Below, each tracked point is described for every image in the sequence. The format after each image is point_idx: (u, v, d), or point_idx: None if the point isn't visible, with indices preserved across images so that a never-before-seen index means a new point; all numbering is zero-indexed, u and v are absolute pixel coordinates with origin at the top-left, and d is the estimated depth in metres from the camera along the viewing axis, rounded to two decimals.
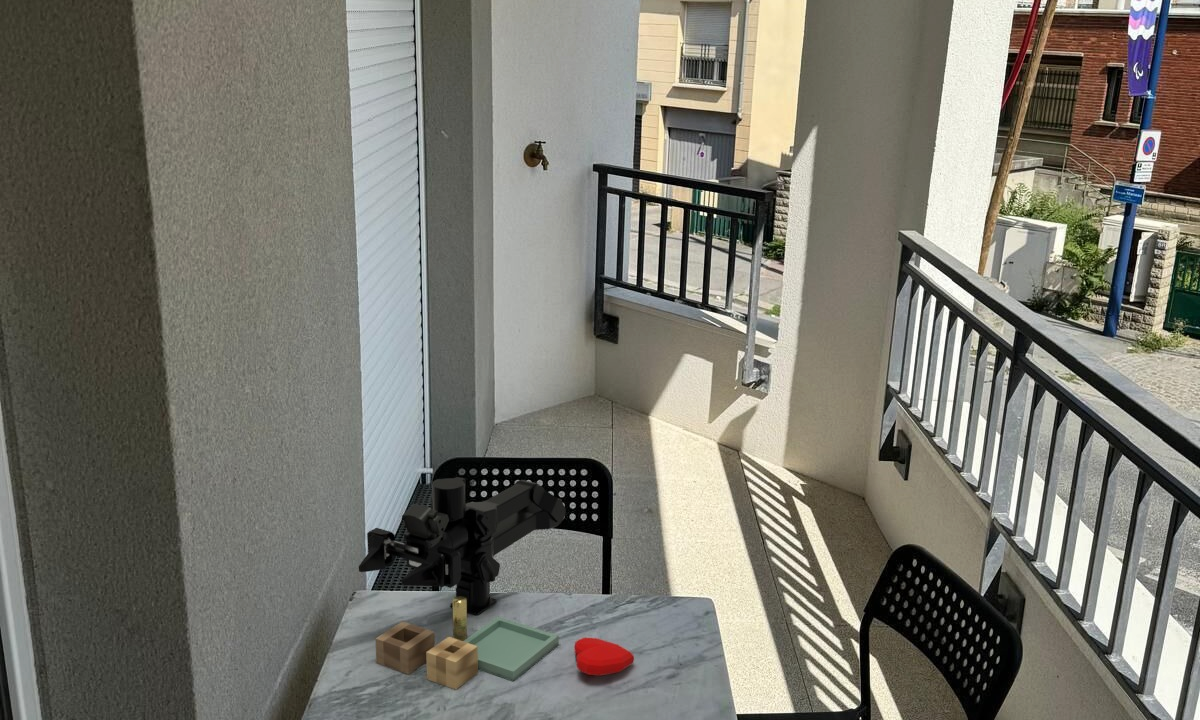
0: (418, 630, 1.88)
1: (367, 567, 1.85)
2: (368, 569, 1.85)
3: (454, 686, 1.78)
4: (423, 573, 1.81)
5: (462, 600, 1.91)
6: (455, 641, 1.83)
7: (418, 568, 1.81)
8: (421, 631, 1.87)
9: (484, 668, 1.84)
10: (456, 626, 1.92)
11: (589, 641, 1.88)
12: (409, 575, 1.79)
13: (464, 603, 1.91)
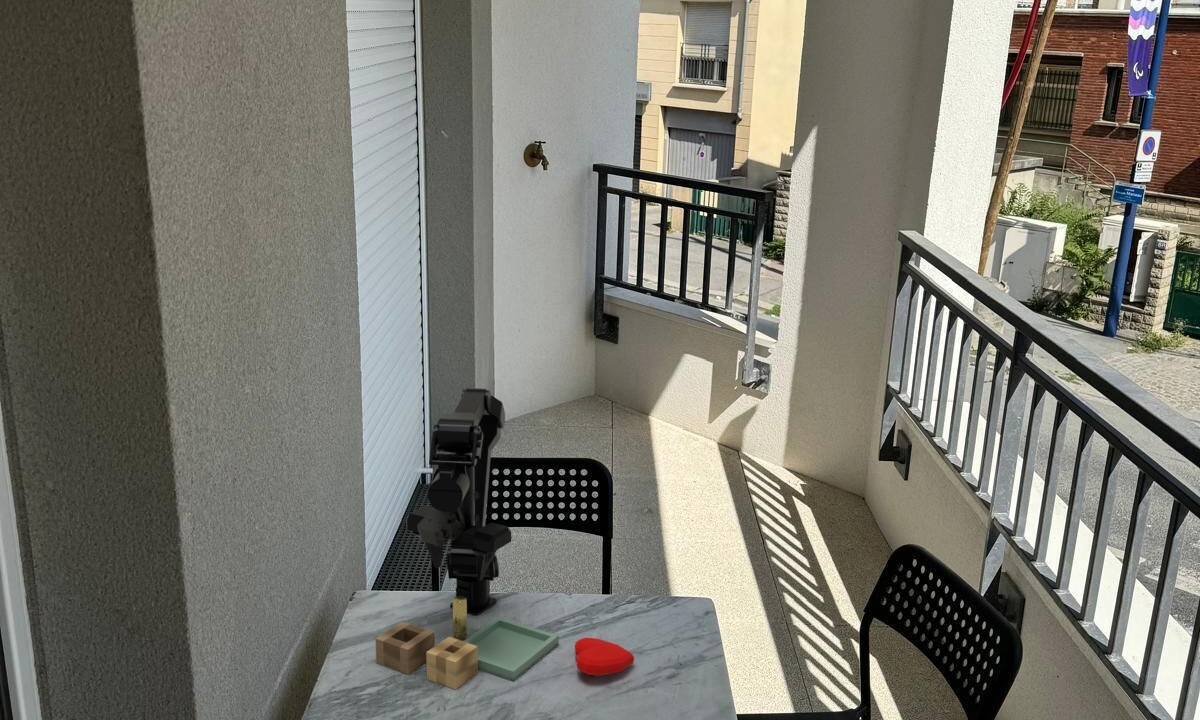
0: (418, 630, 1.88)
1: (439, 557, 1.92)
2: (441, 555, 1.93)
3: (454, 686, 1.78)
4: (484, 560, 1.86)
5: (462, 600, 1.91)
6: (455, 641, 1.83)
7: (478, 564, 1.86)
8: (421, 631, 1.87)
9: (484, 668, 1.84)
10: (456, 626, 1.92)
11: (589, 641, 1.88)
12: (479, 575, 1.87)
13: (464, 603, 1.91)
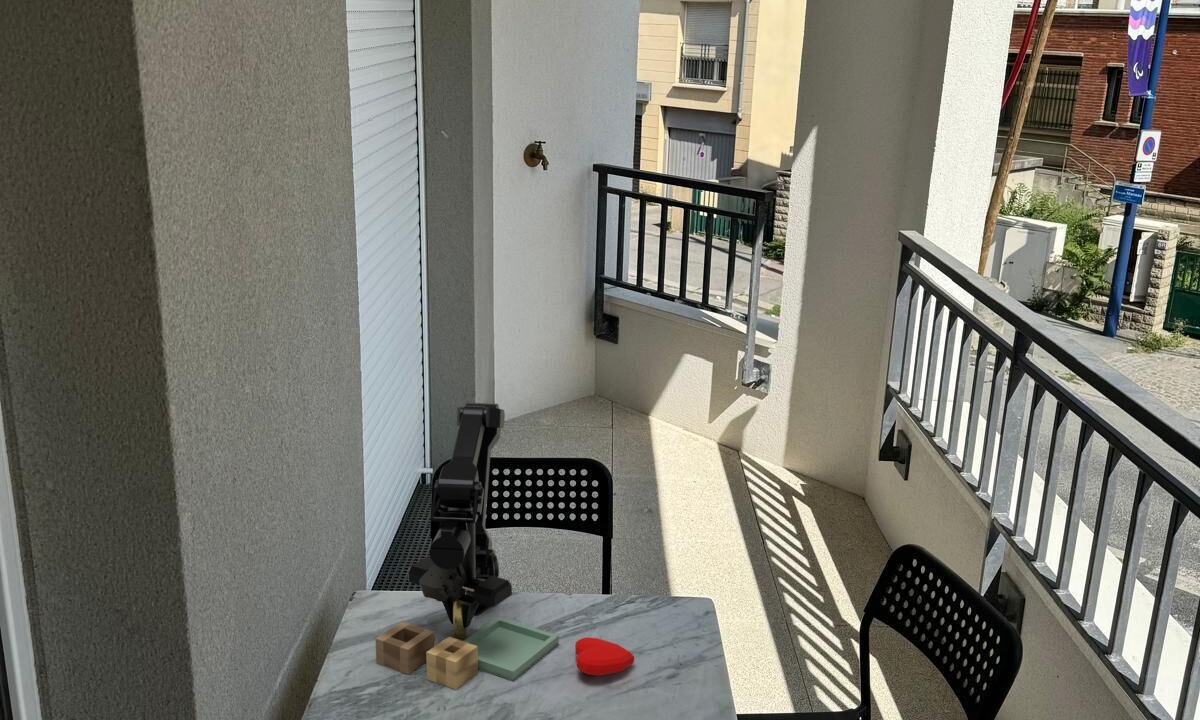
0: (418, 630, 1.88)
1: None
2: None
3: (454, 686, 1.78)
4: (470, 608, 1.90)
5: None
6: (455, 641, 1.83)
7: (464, 612, 1.90)
8: (421, 631, 1.87)
9: (484, 668, 1.84)
10: (456, 626, 1.92)
11: (590, 641, 1.88)
12: (465, 622, 1.91)
13: None
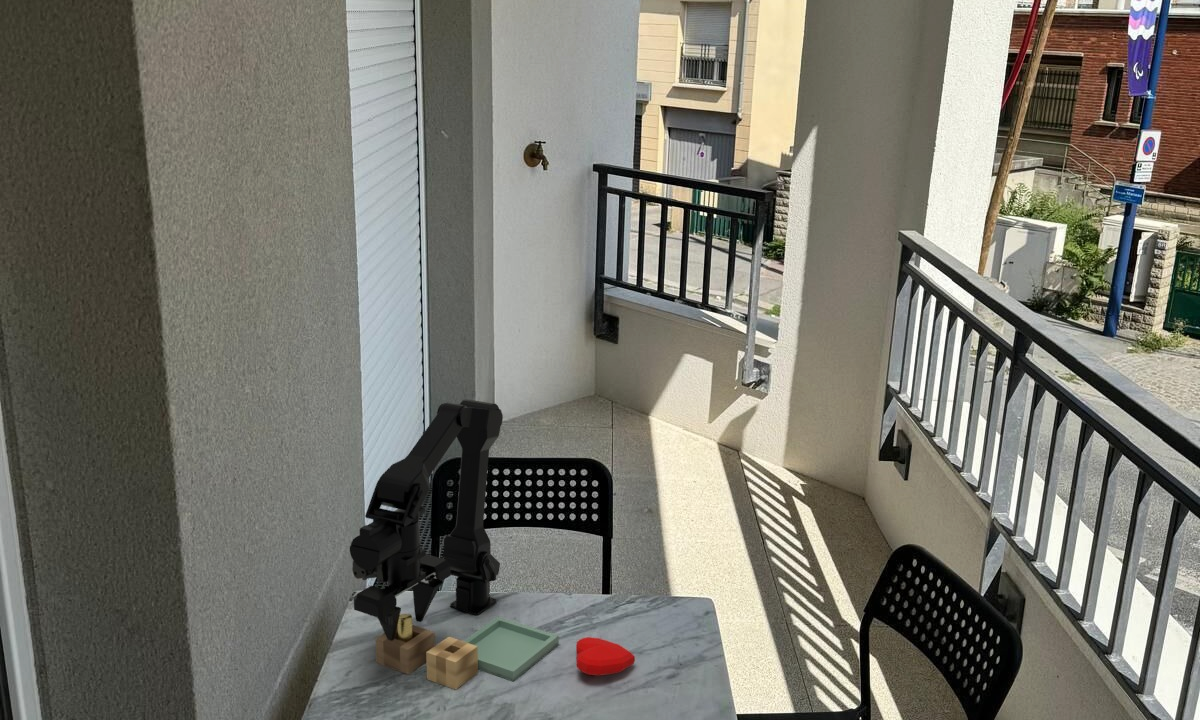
0: (418, 630, 1.88)
1: (420, 612, 1.88)
2: (422, 612, 1.88)
3: (454, 686, 1.78)
4: (384, 620, 1.81)
5: (402, 618, 1.85)
6: (455, 641, 1.83)
7: None
8: (421, 631, 1.87)
9: (484, 668, 1.84)
10: None
11: (590, 641, 1.88)
12: (385, 632, 1.82)
13: (399, 621, 1.84)
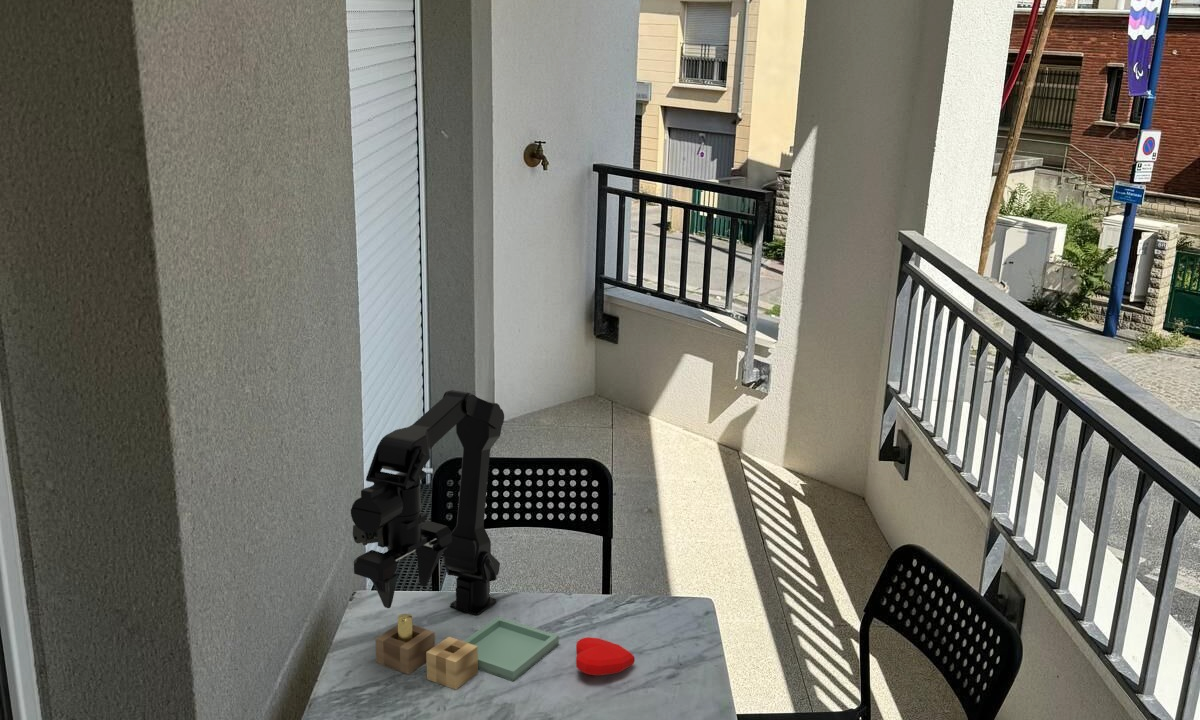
0: (418, 630, 1.88)
1: (424, 577, 1.87)
2: (426, 576, 1.87)
3: (454, 686, 1.78)
4: (380, 587, 1.78)
5: (402, 618, 1.85)
6: (455, 641, 1.83)
7: None
8: (421, 631, 1.87)
9: (484, 668, 1.84)
10: None
11: (590, 641, 1.88)
12: None
13: (399, 621, 1.84)
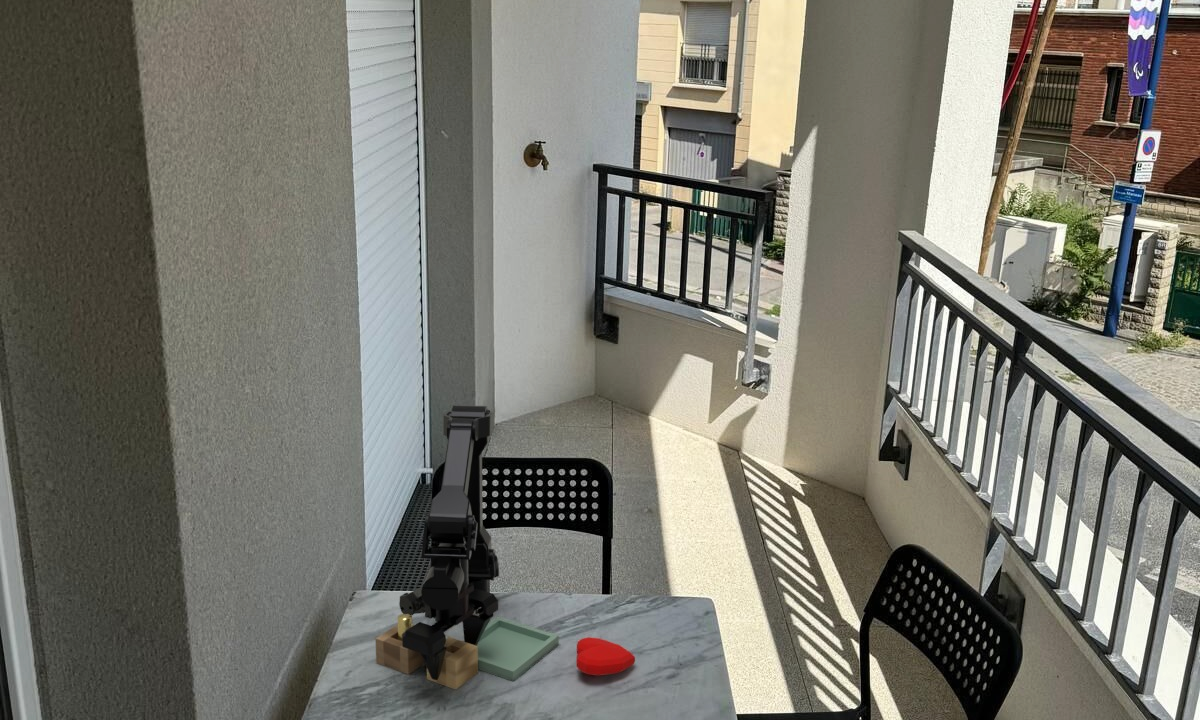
0: None
1: None
2: None
3: (454, 686, 1.78)
4: (428, 660, 1.76)
5: (402, 618, 1.85)
6: (455, 641, 1.83)
7: None
8: None
9: (484, 668, 1.84)
10: None
11: (591, 641, 1.88)
12: (429, 671, 1.78)
13: (399, 621, 1.84)
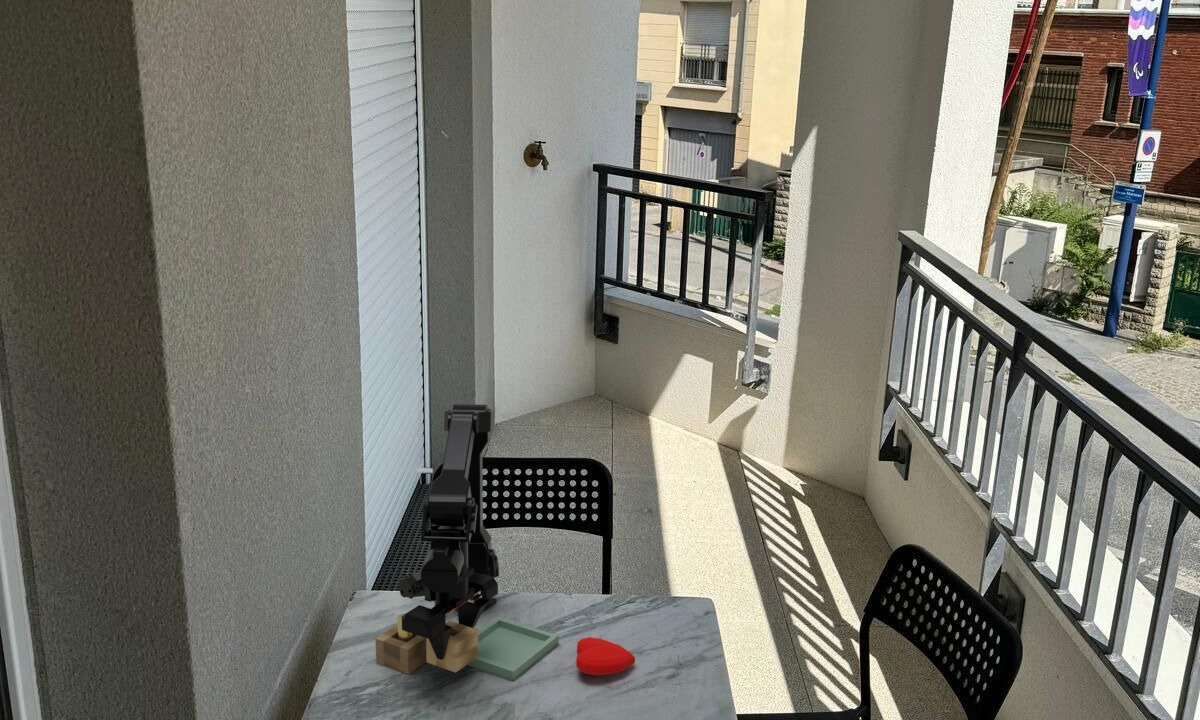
0: None
1: None
2: None
3: (454, 669, 1.77)
4: (434, 639, 1.76)
5: None
6: (455, 625, 1.82)
7: None
8: None
9: (484, 668, 1.84)
10: None
11: (591, 641, 1.88)
12: None
13: (399, 621, 1.84)
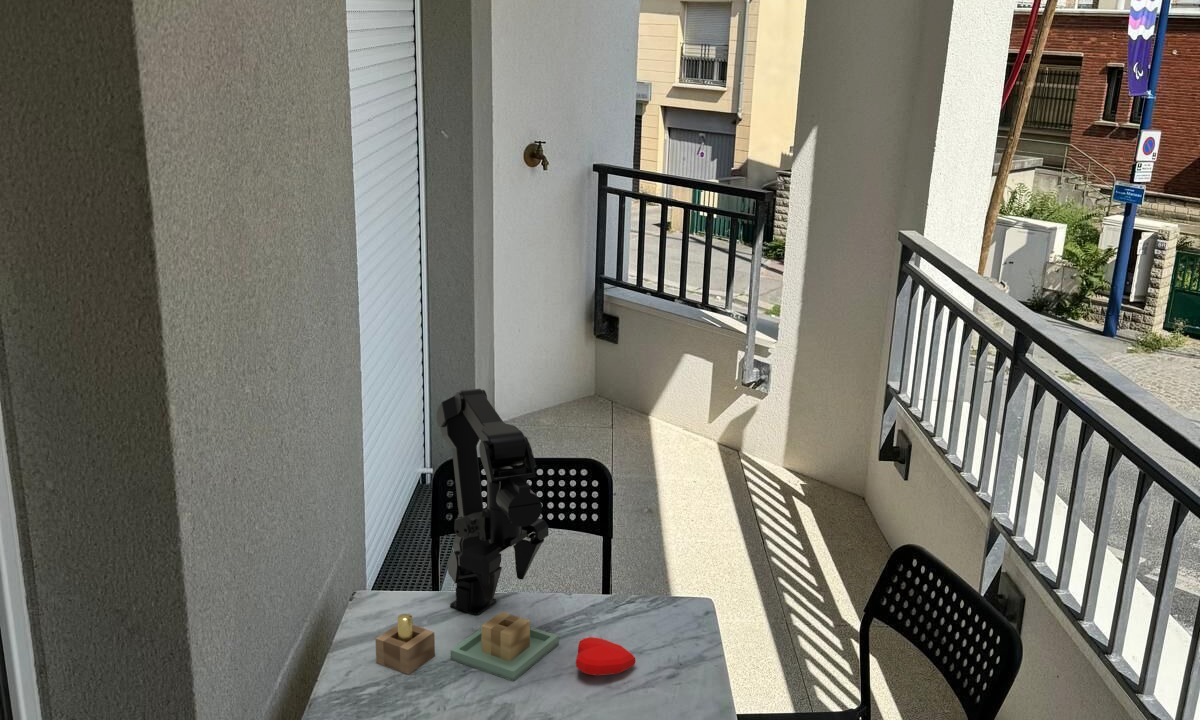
0: (418, 630, 1.88)
1: (521, 570, 1.90)
2: (524, 569, 1.90)
3: (508, 659, 1.86)
4: (484, 580, 1.81)
5: (402, 618, 1.85)
6: (508, 616, 1.91)
7: None
8: (421, 631, 1.87)
9: (484, 668, 1.84)
10: None
11: (592, 641, 1.88)
12: (484, 592, 1.83)
13: (399, 621, 1.84)
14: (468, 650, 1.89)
